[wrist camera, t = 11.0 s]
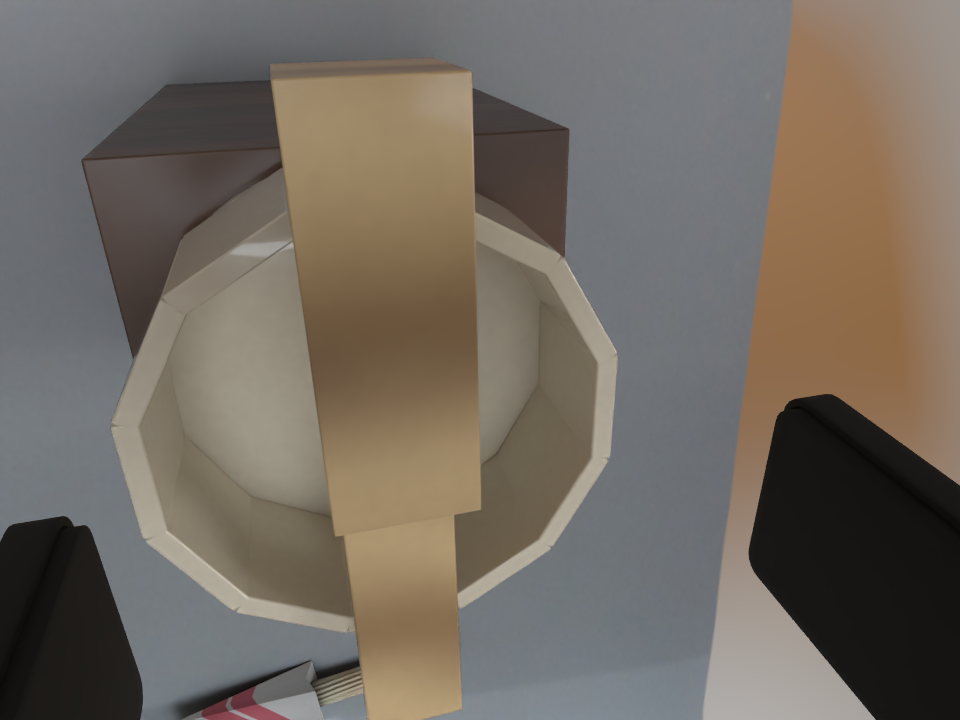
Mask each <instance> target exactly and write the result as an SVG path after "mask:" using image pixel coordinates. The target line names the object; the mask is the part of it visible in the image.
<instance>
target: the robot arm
mask: <svg viewBox="0 0 960 720" xmlns="http://www.w3.org/2000/svg"><path fill="white" fill-rule="evenodd" d="M749 560H750V563H751V566H752V569H753V570H754V572H755V574H756V575H757V576H758V578H759V579H760V580H761V581H762V583H763V584H764V585H765V586H766V587H767V589H768V590H769V591H770V592H771V593H772V594H773V596H774V597H775V598H776V599H777V601H778V602H779V603H780V604H781V606H782V607H783V608H784V609H785V610H786V612H787V613H788V614H789V615H790V616H791V618H792V619H793V620H794V621H795V623H796V624H797V625H798V626H799V627H800V629H801V630H802V631H803V632H804V633H805V635H806V636H807V637H808V638H809V639H810V641H811V642H812V643H813V644H814V646H815V647H816V648H817V649H818V650H819V652H820V653H821V654H822V655H823V656H824V658H825V659H826V660H827V661H828V662H829V664H830V665H831V666H832V667H833V668H834V669H835V671H836V672H837V673H838V674H839V676H840V677H841V678H842V679H843V681H844V682H845V683H846V684H847V685H848V687H849V688H850V689H851V690H852V691H853V692H854V694H855V695H856V696H857V697H858V699H859V700H860V701H861V702H862V704H863V705H864V706H865V707H866V708H867V710H868V711H869V712H870V713H871V714H872V716H873V717H874V718H875V719H876V720H960V485H958V484H957V483H956V482H954V481H953V480H951V479H950V478H948V477H947V476H946V475H944V474H943V473H942V472H940V471H939V470H938V469H936V468H935V467H933V466H932V465H931V464H929V463H928V462H927V461H925V460H924V459H922V458H921V457H919V456H918V455H917V454H915V453H914V452H913V451H911V450H910V449H909V448H907V447H906V446H904V445H903V444H902V443H900V442H899V441H897V440H896V439H895V438H893V437H892V436H891V435H889V434H888V433H886V432H885V431H884V430H882V429H881V428H879V427H878V426H876V425H875V424H874V423H872V422H871V421H870V420H868V419H867V418H866V417H864V416H863V415H862V414H860V413H859V412H857V411H856V410H855V409H853V408H852V407H850V406H849V405H848V404H846V403H845V402H844V401H842V400H841V399H839V398H838V397H836V396H834V395H832V394H823V395H817V396H811V397H805V398H798V399H794V400H792V401H789V403H788V404H787V405H786V406H785V409H784V411H783V412H781V413H780V414H779V415H778V416H777V419H776V423H775V427H774V432H773V437H772V442H771V447H770V451H769V456H768V460H767V465H766V470H765V475H764V479H763V484H762V489H761V494H760V498H759V503H758V508H757V512H756V517H755V522H754V527H753V532H752V536H751V541H750V546H749ZM142 704H143V690H142V682H141V678H140V674H139V671H138V668H137V665H136V662H135V659H134V656H133V653H132V650H131V647H130V645H129V642H128V639H127V636H126V633H125V630H124V627H123V624H122V621H121V618H120V615H119V612H118V609H117V606H116V603H115V600H114V597H113V594H112V592H111V589H110V586H109V583H108V580H107V577H106V574H105V571H104V568H103V565H102V562H101V559H100V556H99V553H98V550H97V547H96V544H95V541H94V538H93V536H92V533H91V531H90V529H89V528H88V527H87V526H85V525H82V526H76V527H74V526H73V524H72V522H71V520H70V519H69V518H68V517H65V516H61V517H55V518H49V519H43V520H36V521H30V522H24V523H18V524H13V525H11V526H9V527H8V529H7V530H6V532H5V533H4V535H3V537H2V539H1V542H0V720H140V718H141V712H142Z"/></svg>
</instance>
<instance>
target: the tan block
mask: <svg viewBox="0 0 960 720" xmlns="http://www.w3.org/2000/svg"><path fill="white" fill-rule="evenodd" d="M270 78H271V87H272V94H273V101H274V109H275V116H276V123H277V130H278V137H279V144H280V151H281V159H282V166H283V173H284V180H285V187H286V194H287V202H288V209H289V216H290V223H291V230H292V237H293V245H294V252H295V259H296V266H297V273H298V280H299V287H300V295H301V302H302V309H303V316H304V323H305V330H306V338H307V345H308V352H309V359H310V366H311V373H312V380H313V388H314V395H315V402H316V409H317V416H318V423H319V431H320V438H321V445H322V452H323V459H324V466H325V474H326V481H327V488H328V495H329V502H330V509H331V516H332V524H333V531H334V535H335V536H336V537H337V536H343V541H344V549H345V556H346V564H347V571H348V579H349V586H350V594H351V601H352V609H353V616H354V624H355V632H356V639H357V647H358V654H359V662H360V669H361V677H362V684H363V692H364V699H365V707H366V714H367V720H422V719H426V718H430V717H434V716H438V715H442V714H446V713H451V712H455V711H459V710H461V709H462V689H461V665H460V642H459V619H458V595H457V572H456V548H455V525H454V515H456V514H461V513H467V512H472V511H478V510H481V468H480V420H479V373H478V325H477V278H476V230H475V183H474V135H473V88H472V71H470V70H468V69H465V68H462V67H459V66H456V65H453V64H450V63H448V62H445V61H442V60H439V59H436V58H407V59H382V60H357V61H331V62H306V63H281V64H271V65H270Z"/></svg>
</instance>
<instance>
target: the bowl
mask: <svg viewBox="0 0 960 720" xmlns="http://www.w3.org/2000/svg"><path fill="white" fill-rule="evenodd" d="M475 230H476V278H477V325H478V373H479V420H480V468H481V510H478V511H472V512H467V513H461V514H456V515H454V525H455V548H456V572H457V595H458V607H459V608H463V607H465V606H466V605H468V604H469V603H471V602H472V601H474V600H475V599H477V598H478V597H480V596H481V595H483V594H484V593H486V592H487V591H489V590H490V589H492V588H493V587H495V586H496V585H498V584H499V583H501V582H502V581H504V580H505V579H507V578H508V577H510V576H511V575H513V574H514V573H516V572H517V571H519V570H520V569H522V568H523V567H525V566H527V565H528V564H530V563H531V562H533V561H534V560H536V559H537V558H539V557H540V556H542V555H543V554H545V553H546V552H548V551H549V550H550V546H551V547H552V546H554V544H555V543H556V541H557V540H558V538H559V536H560V535H561V533H562V532H563V530H564V529H565V527H566V526H567V524H568V523H569V521H570V520H571V518H572V516H573V515H574V513H575V512H576V510H577V509H578V507H579V506H580V504H581V503H582V501H583V499H584V498H585V496H586V495H587V493H588V492H589V490H590V489H591V487H592V486H593V484H594V483H595V481H596V479H597V478H598V476H599V475H600V473H601V472H602V470H603V469H604V467H605V466H606V464H607V463H608V459H607V458H609V457H610V451H611V438H612V425H613V413H614V400H615V387H616V375H617V362H618V357H617V355H616V354H617V351H616V349H615V347H614V345H613V344H612V342H611V340H610V338H609V337H608V335H607V333H606V331H605V329H604V328H603V326H602V324H601V322H600V321H599V319H598V317H597V315H596V313H595V312H594V310H593V308H592V306H591V305H590V303H589V301H588V299H587V297H586V296H585V294H584V292H583V290H582V289H581V287H580V285H579V283H578V281H577V280H576V278H575V276H574V274H573V273H572V271H571V269H570V267H569V265H568V264H567V262H566V260H565V258H564V257H562V256H561V255H560V254H559V253H558V252H557V251H556V250H555V249H553V248H552V247H551V246H550V245H549V244H548V243H546V242H545V241H544V240H543V239H542V238H541V237H539V236H538V235H537V234H536V233H535V232H534V231H533V230H531V229H530V228H529V227H528V226H527V225H526V224H524V223H523V222H522V221H521V220H520V219H519V218H517V217H516V216H515V215H514V214H513V213H512V212H510V211H509V210H508V209H507V208H506V207H504V206H502V205H500V204H498V203H496V202H494V201H492V200H490V199H488V198H486V197H484V196H482V195H480V194H478V193H477V192H475ZM111 423H112V425H111V428H110V429H111V432H112V436H113V439H114V442H115V446H116V449H117V453H118V456H119V460H120V463H121V466H122V470H123V473H124V477H125V480H126V484H127V487H128V490H129V494H130V497H131V501H132V504H133V507H134V511H135V514H136V518H137V521H138V525H139V528H140V531H141V535H142V538H143V539H146V542H147V544H149V545H150V546H151V547H152V548H154V549H155V550H156V551H158V552H159V553H160V554H161V555H163V556H164V557H165V558H166V559H168V560H169V561H170V562H171V563H173V564H174V565H175V566H176V567H178V568H179V569H180V570H181V571H183V572H184V573H185V574H186V575H188V576H189V577H190V578H192V579H193V580H194V581H195V582H197V583H198V584H199V585H200V586H202V587H203V588H204V589H205V590H207V591H208V592H209V593H210V594H212V595H213V596H214V597H215V598H217V599H218V600H219V601H221V602H222V603H223V604H224V605H226V606H227V607H228V608H229V609H231V610H235V609H236V612H237V613H241V614H246V615H252V616H257V617H262V618H268V619H273V620H278V621H284V622H289V623H294V624H300V625H305V626H310V627H316V628H321V629H326V630H332V631H337V632H342V633H346V632H347V630H348V631H349V632H350V633H353V632H355V624H354V616H353V609H352V601H351V594H350V586H349V579H348V571H347V564H346V556H345V549H344V541H343V536H337V537H336V536H335V535H334V531H333V524H332V516H331V509H330V502H329V495H328V488H327V481H326V474H325V466H324V459H323V452H322V445H321V438H320V431H319V423H318V416H317V409H316V402H315V395H314V388H313V380H312V373H311V366H310V359H309V352H308V345H307V338H306V330H305V323H304V316H303V309H302V302H301V295H300V287H299V280H298V273H297V266H296V259H295V252H294V245H293V237H292V230H291V223H290V216H289V209H288V202H287V194H286V187H285V180H284V173H283V168H280V169H279V170H278V171H276V172H275V173H273V174H272V175H270V176H269V177H267V178H266V179H265V180H262V181H260V182H258V183H256V184H254V185H253V186H251V187H249V188H248V189H246V190H244V191H243V192H241V193H239V194H238V195H236V196H234V197H233V198H232V199H230V200H229V201H228V202H227V203H225V204H224V205H223V206H222V207H220V208H219V209H218V210H217V211H215V212H214V213H213V214H212V215H210V216H209V217H208V218H207V219H206V220H205V221H204V222H203V223H201V224H200V225H198V226H197V227H195V228H194V229H192V230H191V231H190V232H188V233H187V234H185V235H184V236H183V238H182V240H180V242H179V244H178V247H177V249H176V252H175V254H174V257H173V259H172V262H171V264H170V267H169V269H168V272H167V274H166V277H165V279H164V282H163V284H162V286H161V289H160V292H159V294H158V297H157V299H156V302H155V304H154V307H153V309H152V312H151V314H150V317H149V319H148V322H147V324H146V327H145V329H144V332H143V334H142V337H141V339H140V342H139V345H138V348H137V350H136V353H135V356H134V359H133V361H132V364H131V367H130V370H129V373H128V375H127V378H126V381H125V384H124V386H123V389H122V392H121V395H120V397H119V400H118V403H117V406H116V408H115V411H114V414H113V417H112V419H111Z"/></svg>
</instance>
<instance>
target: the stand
mask: <svg viewBox="0 0 960 720" xmlns="http://www.w3.org/2000/svg"><path fill="white" fill-rule="evenodd" d="M473 135H474V183H475V192H477V193H478V194H480V195H482V196H484V197H486V198H488V199H490V200H492V201H494V202H496V203H498V204H500V205H502V206H504V207H506V208H507V209H508V210H509V211H510V212H512V213H513V214H514V215H515V216H516V217H517V218H519V219H520V220H521V221H522V222H523V223H524V224H526V225H527V226H528V227H529V228H530V229H531V230H533V231H534V232H535V233H536V234H537V235H538V236H539V237H541V238H542V239H543V240H544V241H545V242H546V243H548V244H549V245H550V246H551V247H552V248H553V249H555V250H556V251H557V252H558V253H559V254H560V255H561V256H562V257H564V256H565V230H566V204H567V178H568V152H569V129H568V128H566V127H563V126H561V125H559V124H556V123H554V122H552V121H549V120H547V119H545V118H542V117H540V116H538V115H535V114H533V113H531V112H528V111H526V110H523V109H521V108H519V107H516V106H514V105H512V104H509V103H507V102H505V101H502V100H500V99H498V98H495V97H493V96H491V95H488V94H486V93H484V92H481V91H479V90H476V89H474V88H473ZM81 162H82V166H83V170H84V173H85V177H86V181H87V185H88V189H89V193H90V196H91V200H92V204H93V208H94V212H95V215H96V219H97V223H98V227H99V231H100V235H101V238H102V242H103V246H104V250H105V254H106V257H107V261H108V265H109V269H110V273H111V277H112V280H113V284H114V288H115V292H116V296H117V299H118V303H119V307H120V311H121V315H122V319H123V322H124V326H125V330H126V334H127V338H128V341H129V345H130V349H131V353H132V357H133V359H134V356H135V353H136V350H137V348H138V345H139V342H140V339H141V337H142V334H143V332H144V329H145V327H146V324H147V322H148V319H149V317H150V314H151V312H152V309H153V307H154V304H155V302H156V299H157V297H158V294H159V292H160V289H161V286H162V284H163V282H164V279H165V277H166V274H167V272H168V269H169V267H170V264H171V262H172V259H173V257H174V254H175V252H176V249H177V247H178V244H179V242H180V240H182V238H183V236H184V235H185V234H187V233H188V232H190V231H191V230H192V229H194V228H195V227H197V226H198V225H200V224H201V223H203V222H204V221H205V220H206V219H207V218H208V217H209V216H210V215H212V214H213V213H214V212H215V211H217V210H218V209H219V208H220V207H222V206H223V205H224V204H225V203H227V202H228V201H229V200H230V199H232V198H233V197H234V196H236V195H238V194H239V193H241V192H243V191H244V190H246V189H248V188H249V187H251V186H253V185H254V184H256V183H258V182H260V181H262V180H265V179H266V178H267V177H269V176H270V175H272V174H273V173H275V172H276V171H278V170H279V169H280V168H283V166H282V159H281V151H280V144H279V137H278V130H277V123H276V116H275V109H274V101H273V94H272V87H271V80H268V81H245V82H222V83H198V84H175V85H166V86H164V87H163V88H162V89H161V90H160V91H159V92H158V93H157V94H155V95H154V96H153V97H152V98H151V99H150V100H149V101H147V102H146V103H145V104H144V105H143V106H142V107H141V108H140V109H138V110H137V111H136V112H135V113H134V114H133V115H132V116H130V117H129V118H128V119H127V120H126V121H125V122H124V123H123V124H121V125H120V126H119V127H118V128H117V129H116V130H115V131H113V132H112V133H111V134H110V135H109V136H108V137H107V138H106V139H104V140H103V141H102V142H101V143H100V144H99V145H98V146H96V147H95V148H94V149H93V150H92V151H91V152H90V153H88V154H87V155H86V156H85V157H84V158H83V159H82V161H81Z"/></svg>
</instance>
